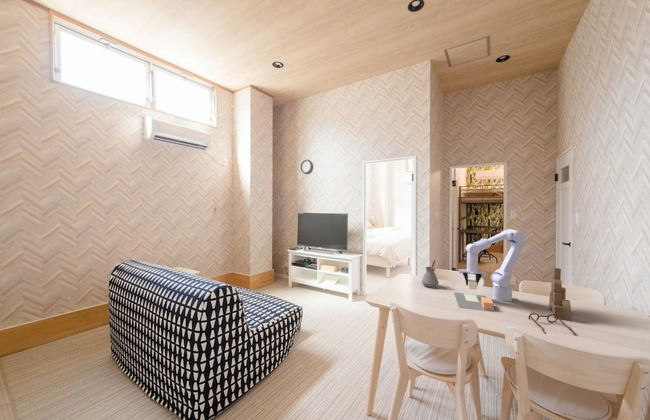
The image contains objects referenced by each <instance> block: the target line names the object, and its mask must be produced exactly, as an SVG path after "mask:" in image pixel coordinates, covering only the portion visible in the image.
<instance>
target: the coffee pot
mask: <svg viewBox="0 0 650 420" xmlns="http://www.w3.org/2000/svg"><path fill="white" fill-rule="evenodd" d="M435 264H436V260H435V259H434V260H433V261H432V265H431V266H426V267H425V272H424V274H423V276H422V279H421V283H422V285H423V286H424V287H425V288H429V287H434V288H436V287H437V286H439V284H440V282H439V279H438V277H437V275H436V273H435V271H436V268H435V267H434V266H435Z"/></svg>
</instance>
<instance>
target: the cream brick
mask: <svg viewBox="0 0 650 420" xmlns="http://www.w3.org/2000/svg"><path fill="white" fill-rule="evenodd" d="M467 289H468V290H476V291H477V290H478V286H477V282H476V278H469V277H468V286H467Z"/></svg>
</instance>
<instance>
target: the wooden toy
mask: <svg viewBox="0 0 650 420" xmlns="http://www.w3.org/2000/svg"><path fill="white" fill-rule="evenodd" d="M561 273H562V268H557V267H554V269H553V271H552V274H551V276H552V277H551V285H550V286H551V287H550V292H549V300H548V301H549V305H548V306H549V307H548V308H549V310H550V311H551V312H552V314H555V315H557V316H558V318H559V319H560V320H562V321H571V315H572V304H571V300H569V299H566V294H567V292H566V290H567V288H566V287H564V286H563V285H562V280H561V278H562V277H561V275H562V274H561ZM552 317H553V319H556V316H554V315H552Z"/></svg>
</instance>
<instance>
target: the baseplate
mask: <svg viewBox="0 0 650 420" xmlns="http://www.w3.org/2000/svg"><path fill="white" fill-rule="evenodd" d="M453 293H454V296H455V297H454V298H455V299H456V303H457V306H458V308H459V309H463V310H464V309H466V310H473V311H483V312H490V313H496V310H495V308H493V310H485V309H484V308H483V307H482V305H481V297H486V298H488V297H487V295H483V294H482V295H481V294H473V293H472V294H471V293H463V292H453Z"/></svg>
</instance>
